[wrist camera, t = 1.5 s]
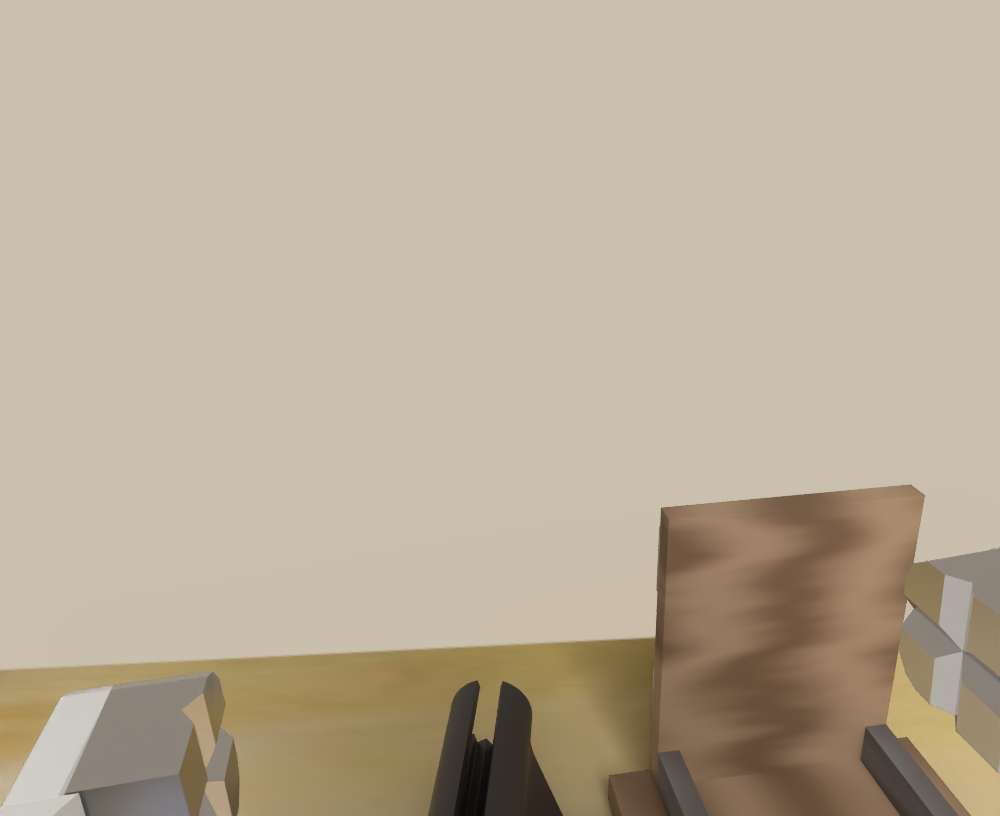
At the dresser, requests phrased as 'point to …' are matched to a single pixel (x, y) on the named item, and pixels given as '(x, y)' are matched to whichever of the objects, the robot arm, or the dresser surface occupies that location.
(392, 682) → the dresser surface
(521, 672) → the dresser surface
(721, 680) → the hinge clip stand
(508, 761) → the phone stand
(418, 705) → the dresser surface
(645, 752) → the dresser surface
